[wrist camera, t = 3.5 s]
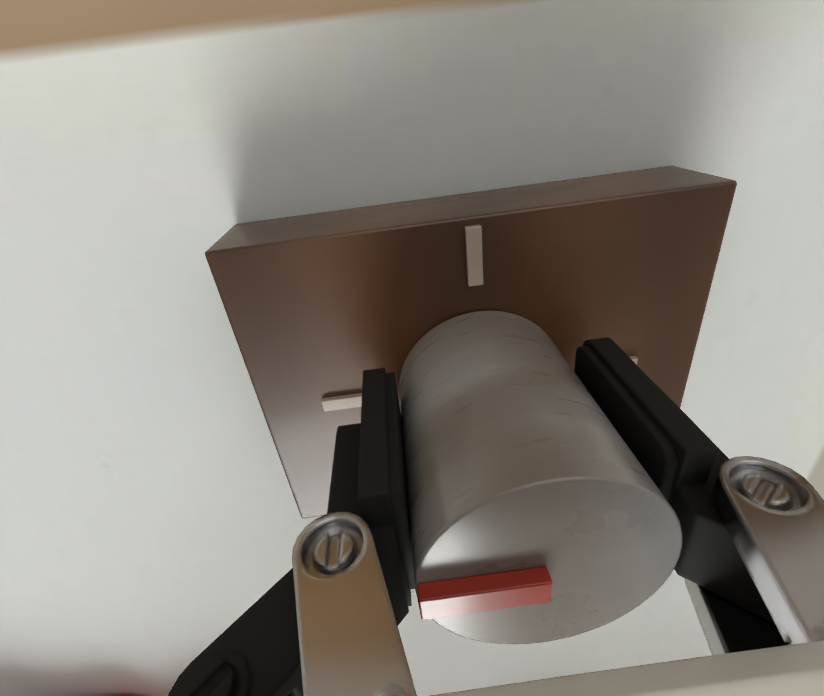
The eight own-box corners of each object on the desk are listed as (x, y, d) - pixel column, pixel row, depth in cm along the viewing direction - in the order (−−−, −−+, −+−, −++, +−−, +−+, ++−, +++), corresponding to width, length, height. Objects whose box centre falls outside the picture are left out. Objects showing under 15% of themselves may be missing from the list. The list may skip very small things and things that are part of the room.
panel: (672, 164, 12) (744, 181, 10) (627, 420, 16) (668, 473, 14) (234, 223, 12) (200, 254, 9) (311, 463, 16) (300, 523, 14)
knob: (564, 298, 11) (728, 475, 6) (554, 433, 13) (667, 644, 8) (388, 322, 11) (399, 520, 6) (408, 452, 13) (430, 678, 8)
